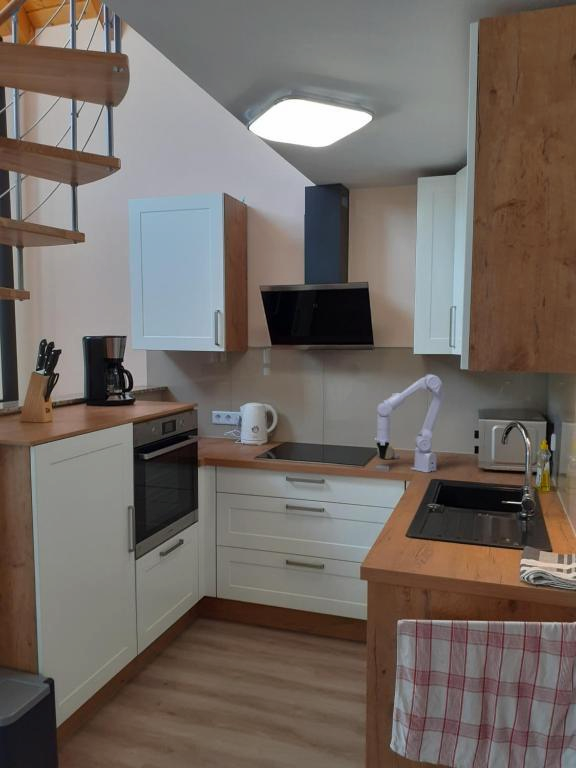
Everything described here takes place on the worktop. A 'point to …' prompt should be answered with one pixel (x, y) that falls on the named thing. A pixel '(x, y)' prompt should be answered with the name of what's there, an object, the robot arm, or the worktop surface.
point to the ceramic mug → (390, 453)
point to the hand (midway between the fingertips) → (382, 458)
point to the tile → (382, 468)
